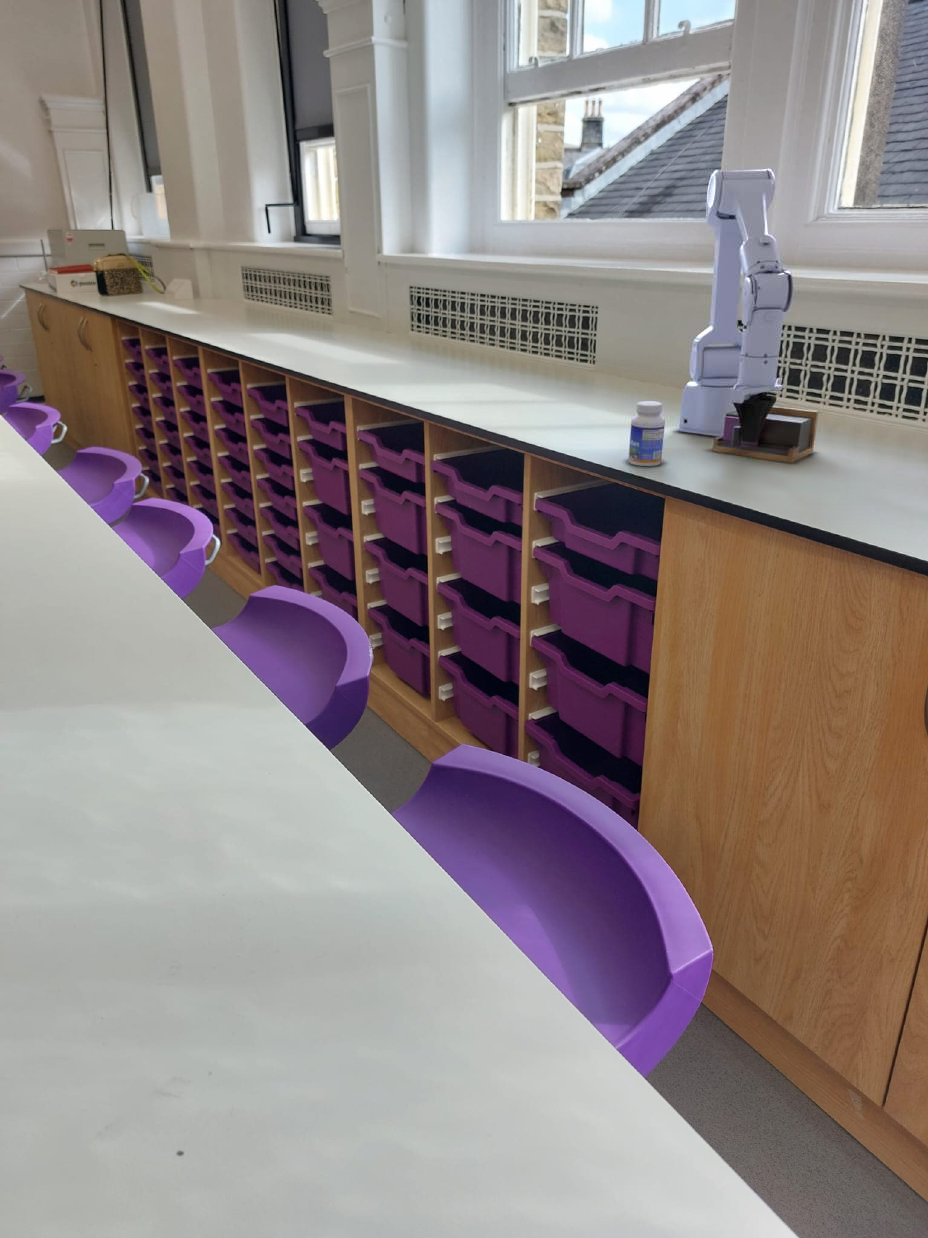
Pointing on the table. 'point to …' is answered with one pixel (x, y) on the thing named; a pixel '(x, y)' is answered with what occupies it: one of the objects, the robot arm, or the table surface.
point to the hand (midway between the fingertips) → (749, 441)
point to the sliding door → (734, 432)
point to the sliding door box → (778, 436)
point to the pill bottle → (647, 434)
